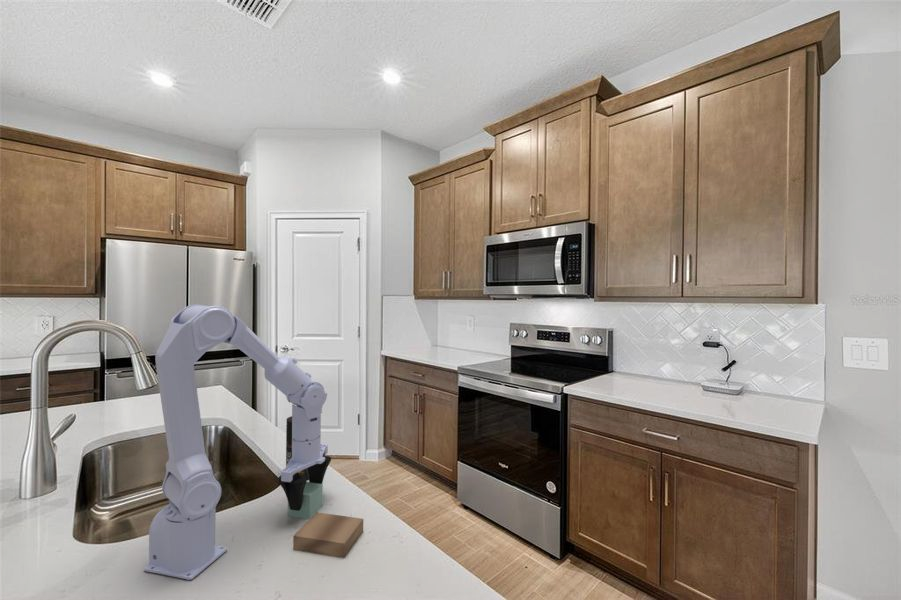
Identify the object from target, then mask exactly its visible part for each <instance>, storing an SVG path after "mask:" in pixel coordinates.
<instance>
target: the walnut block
mask: <svg viewBox="0 0 901 600" xmlns="http://www.w3.org/2000/svg"><path fill="white" fill-rule="evenodd" d="M307 520H308V521H306V523H304V524H303V525H302V526H301V527H300V528H299V530H297V532H296V533H294V534H293V540H292V541H293V543H292V545H293V547H292V548H293V551H297V552H298V551H299V552H304V553H309V554H310V553H311V554H317V555H321V556H322V555H324V556H328V557H334V558H341V559H345V558H346V556H347V555H348V554H349V553H350V552H351V549H352V548H353V547H354V546H355V544H357V543H356V542H357V541H358V540H359V539H360V537H361V536H362V534H363V533H364V518H360V517H354V516H348V515H347V516H346V515H341V514H340V515H338V514H332V513H325V512H318V511H317V512H316V513H315V514H314V515H313V516H312V517H311V518H310V519H307Z"/></svg>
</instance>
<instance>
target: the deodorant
mask: <svg viewBox="0 0 901 600" xmlns="http://www.w3.org/2000/svg"><path fill="white" fill-rule="evenodd" d="M285 435H286V437H285V438H286V439H285V441H286V443H285V445H286V446H285V467H286V466H287V464H288V463H289V461H290V459H291V458H292V415H291V416H289V417H287V418H286V434H285ZM299 475H301V477H305V478H308V481H309V474H308V469H307V468H306V469H304V470H302V471H300V472H299Z"/></svg>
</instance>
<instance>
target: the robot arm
mask: <svg viewBox="0 0 901 600" xmlns="http://www.w3.org/2000/svg"><path fill="white" fill-rule="evenodd" d="M169 323H170V324H169V327H168V330H167V331H166V332H165V335H164V337H163V339H162V341H161V343H160V345H159V347H158V348H157V350H156V353H155V356H154V357H155V358H154V360H155V366H156V367H155V368H156V375H157V380H158V387H159V395H160V400H161V401H160V403H161V409H162V416H163V423H164V424H163V425H164V430H165V438H166V445H167V450H168V451H167V453H168V459H167V461H166V463H165V476H164V479H163V482H162V485H161V490H162V491H161V492H162V493H163V496H164V497H165V498H167V499H168V500H169V503H168V505H166V506H165V507H163V508H162V509H160V510H159V511H158V512H157V513H156V515H155V516H154V517H153V518H152V521H151V523H150V525H149V530H148V564H147V565H145V566H144V567H143V571H145V572H148V573H149V572H150V573H153V574H158V575H164V576H169V577H174V578H179V579H183V580H184V579H185V580H193V579H194V578H196V577H197V576H198V575H199V574H200V573H202V572H203V571H204V570H206V568H207V567H209V566H210V565H211V564H212V563H214V562H215V561H216V560H217V559H218V558H220V557H221V556H222V555H223V554H225V552H227V551H228V547H227V546H225V545H224V546H223V545H218V544H217V545H216V522H217V521H216V518H217V517H216V515H217V514H216V511H217V509H216V508H217V507H216V506H217V504H218V503H219V501H220V499H221V496H222V486H221V483H220V482H219V481H218V480H217V479H216V478H215V476H214V472H213V467H212V465H211V463H210V460H209V459H208V456H207V454H206V448H205V439H204V434H203V426H202V419H201V410H200V402H199V394H198V387H197V380H196V379H197V378H196V372H195V366H194V365H195V364H196V362H198V360H199V359H201V357H202V356H203V355H205V353H206V352H208V351H209V350H211V349H212V348H214V347H217V346H219V345H220V344H222V343H225V344H230V345H233V346H235V347H236V349H239V350H240V351H241V352H243V353H244V354H245V355H246V356H247V357H249V358H250V359H251V360H252V361H254V362H255V363H256V364H258V365H259V366H260V367H262V368H263V369H264V373H263V374H264V379H265V380H266V381H268V382H269V383H270V384H272V386H274V387H275V388H276V389H277V390H278V391H280V392H281V393H282V394H284V395H285V398H286V400H287V402H288V403H291V404H292V406H291V407H292V410H291V411H292V415H291V416H292V458H291V459H290V461H289V463H288V464H287V466H286V465H285V468H284V469H282V470H280V476H278V478H277V479H278V481H277V483H278V484H279V485H280V486H281V488H282V490H283V491H284V493H285V496H286V500H287V504H288V503H289V507H290V510H296V511H299V510H300V509H301V507H302V500H303V492H304V488H305V485H306V482H310V483H318V484H323V483H324V479H325V474H326V472H327V469H328V467H329V464H330V463H331V461H332V457H331V456H328V455H327V454H328V452H329V451H328V449H329V448H328V447H329V446H328V444H323V443H322V444H321V438H322V437H321V436H322V435H321V434H322V431H321V430H322V427H321V426H322V425H321V423H322V422H321V421H322V413H323V410H322V409H323V406H324V404H325V402H326V401H327V397H328V393H326V391H325V387H324V386H323V384H321V383H320V382H317V381H315V380H312V378H311V377H312V374H310V373H309V372H306V371H304V370H302V369H301V367H300V366H298V365H297V363H298V360H296V359H295V357H288V356H286V355H285V356H284V355H283V356H282V355H281V356H278V355H277V354H276V353H275V352H274V351H272V350H271V348H269V347H268V346H267V344H266V343H265V342H264V341H263V340H262V339H261V338H259V336H257V334H256V333H254V331H253V330H252V329H250V328H249V326H247V324H246V323H245V322H244V321H243V320H242V319H241V318H239V317H237V316H236V315H235V316H234V314H233V313H232V312H231V311H230V310H228V309H227V308H226V307H223V306H220V305H212V306H210V305H205V304H201V303H200V304H199V303H196V304H195V303H194V304H190V305H187V306H185V307H184V308H182V310H180V311H179V312H177V314H175V315H174V316H173V317H171V319H170V322H169ZM306 468H307V469H308V474H309V480H308V478H305V477H301V475H299V472H300V471H302V470H304V469H306ZM307 480H308V481H307Z"/></svg>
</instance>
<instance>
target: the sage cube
mask: <svg viewBox="0 0 901 600" xmlns="http://www.w3.org/2000/svg"><path fill="white" fill-rule="evenodd" d="M322 507H323V483H322V484H318V483H310V482H309V481H307V482H306V485H305V488H304V492H303V500H302V507H301V509H300V510H299V511H296V510H290V507H289V503H288V502H287V516H288V517H293V518H294V517H295V518H300V519H307V520H309V519H310V518H311V517H312V516H313V515H314V514H315V513H316V512H318V511H320V509H322Z"/></svg>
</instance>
